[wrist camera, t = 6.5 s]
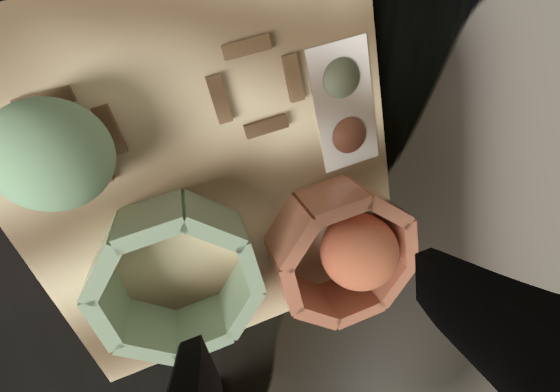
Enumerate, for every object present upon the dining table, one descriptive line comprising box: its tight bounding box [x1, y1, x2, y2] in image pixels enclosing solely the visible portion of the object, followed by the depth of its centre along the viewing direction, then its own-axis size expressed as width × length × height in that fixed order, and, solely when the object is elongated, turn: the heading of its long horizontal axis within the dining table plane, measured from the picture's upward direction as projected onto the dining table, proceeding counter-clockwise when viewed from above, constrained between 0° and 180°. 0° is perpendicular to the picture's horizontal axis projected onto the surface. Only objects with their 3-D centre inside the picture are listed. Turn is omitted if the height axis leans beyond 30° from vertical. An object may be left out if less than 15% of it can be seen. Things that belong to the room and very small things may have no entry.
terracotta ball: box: [320, 213, 400, 291], centre depth 18 cm, size 4×4×4 cm
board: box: [0, 0, 390, 382], centre depth 17 cm, size 18×18×1 cm
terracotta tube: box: [264, 174, 418, 330], centre depth 18 cm, size 7×7×3 cm
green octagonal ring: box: [77, 189, 266, 366], centre depth 16 cm, size 7×7×3 cm
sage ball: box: [0, 96, 116, 212], centre depth 12 cm, size 4×4×4 cm
